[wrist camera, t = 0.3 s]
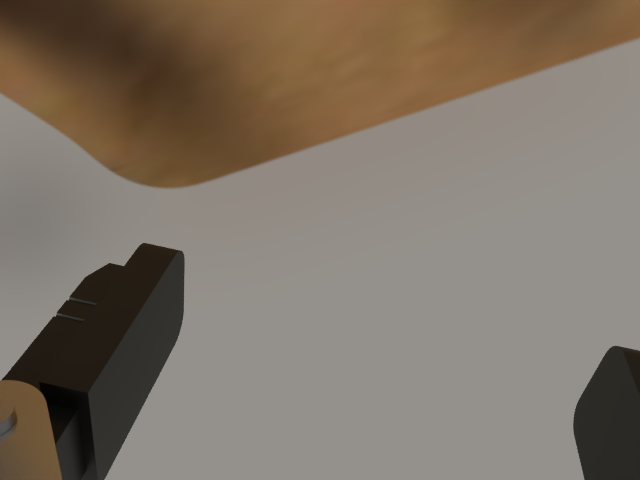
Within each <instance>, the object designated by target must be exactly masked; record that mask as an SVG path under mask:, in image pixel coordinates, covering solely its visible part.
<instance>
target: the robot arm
mask: <svg viewBox="0 0 640 480" xmlns="http://www.w3.org/2000/svg"><path fill="white" fill-rule="evenodd" d="M183 312H184V254H183V252H182V251H179V250H174V249H170V248H165V247H161V246H156V245H151V244H147V243H143V244H141V245H140V246H139V247H138V248H137V250H136V251H135V252H134V254H133V255H132V256H131V258H130V259H129V261H128V262H127V263H126V265H125V266H120V265H116V264H111V263H109V264H107V265H105V266H104V267H102V268H100V269H99V270H97V271H95V272H93V273H92V274H90V275H88V276H87V277H85V278H84V280H83V281H82V282H81V283H80V285H79V286H78V287H77V288H76V290H75V291H74V292H73V293H72V294H71V296H70V299H69V301H68V300H67V301H66V302H65V303H64V304H63V305H62V307H61V308H60V309H59V310H58V312H57V315H56V317H53V318H52V319H51V320H50V322H49V323H48V324H47V325H46V327H45V328H44V329H43V330H42V331H41V333H40V334H39V335H38V337H37V338H36V339H35V340H34V341H33V342H32V344H31V345H30V346H29V347H28V349H27V350H26V351H25V353H24V354H23V355H22V356H21V357H20V359H19V360H18V361H17V362H16V363H15V365H14V366H13V367H12V368H11V370H10V371H9V372H8V374H7V375H6V376H5V377H4V378H3V379H2V380H1V381H0V480H104V479H105V477H106V475H107V473H108V471H109V469H110V468H111V466H112V464H113V462H114V460H115V458H116V456H117V454H118V452H119V451H120V449H121V447H122V444H123V443H124V441H125V439H126V437H127V435H128V433H129V431H130V429H131V428H132V425H133V424H134V422H135V420H136V418H137V416H138V414H139V412H140V410H141V408H142V406H143V405H144V403H145V401H146V399H147V397H148V395H149V393H150V391H151V389H152V387H153V385H154V384H155V382H156V380H157V378H158V376H159V374H160V372H161V370H162V368H163V366H164V364H165V362H166V361H167V359H168V357H169V355H170V353H171V351H172V349H173V347H174V345H175V343H176V341H177V338H178V336H179V332H180V329H181V325H182V320H183ZM573 426H574V436H575V440H576V444H577V449H578V453H579V458H580V462H581V466H582V470H583V475H584V479H585V480H640V351H638V350H633V349H629V348H624V347H620V346H613V347H611V348H610V349H609V350H608V351H607V353H606V354H605V356H604V357H603V359H602V361H601V362H600V364H599V366H598V368H597V370H596V371H595V373H594V375H593V377H592V378H591V380H590V382H589V383H588V385H587V387H586V388H585V390H584V392H583V394H582V395H581V397H580V399H579V401H578V403H577V406H576V409H575V414H574V424H573Z"/></svg>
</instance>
